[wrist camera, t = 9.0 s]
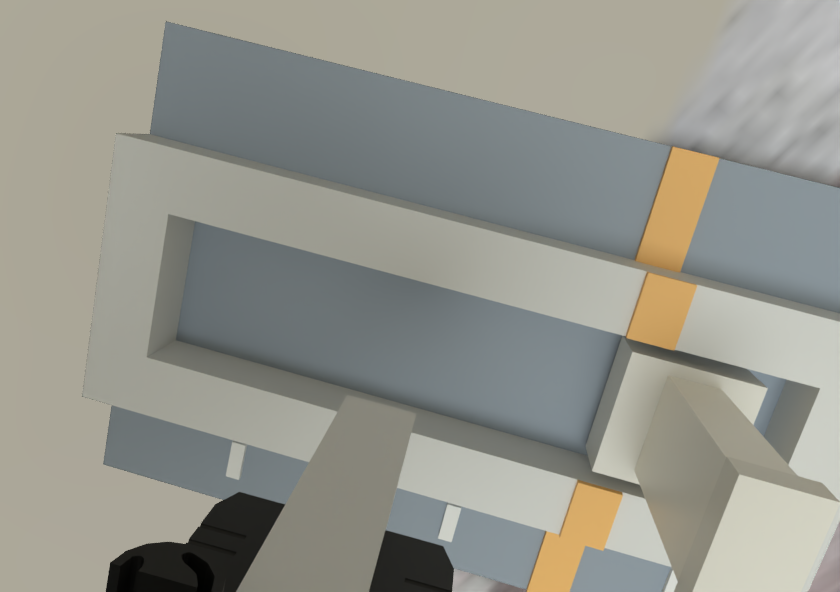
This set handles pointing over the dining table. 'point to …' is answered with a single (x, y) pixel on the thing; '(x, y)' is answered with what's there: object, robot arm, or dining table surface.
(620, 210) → the console
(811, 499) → the fader tab
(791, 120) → the dining table surface
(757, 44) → the dining table surface
